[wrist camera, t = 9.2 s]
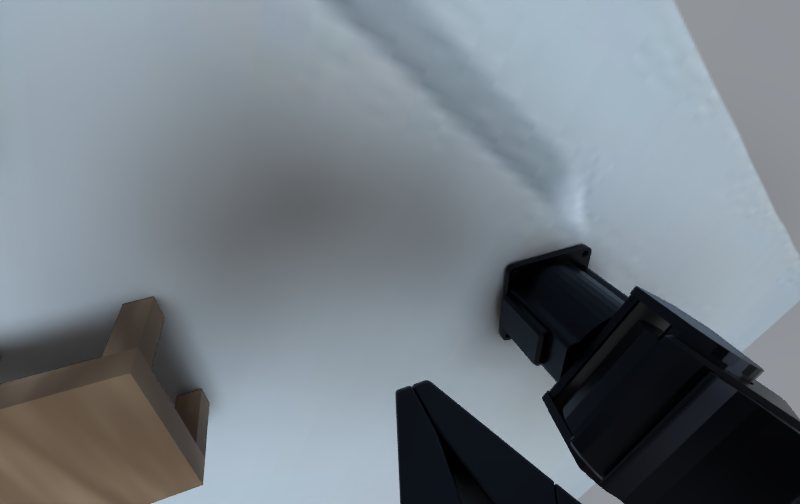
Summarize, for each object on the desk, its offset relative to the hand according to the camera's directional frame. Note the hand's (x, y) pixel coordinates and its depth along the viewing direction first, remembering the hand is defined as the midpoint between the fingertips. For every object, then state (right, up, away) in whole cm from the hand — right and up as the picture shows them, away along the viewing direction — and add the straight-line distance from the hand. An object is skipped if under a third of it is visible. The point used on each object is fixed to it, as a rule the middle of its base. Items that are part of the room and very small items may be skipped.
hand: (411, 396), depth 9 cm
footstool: (-11, -3, +9) cm, 15 cm away
